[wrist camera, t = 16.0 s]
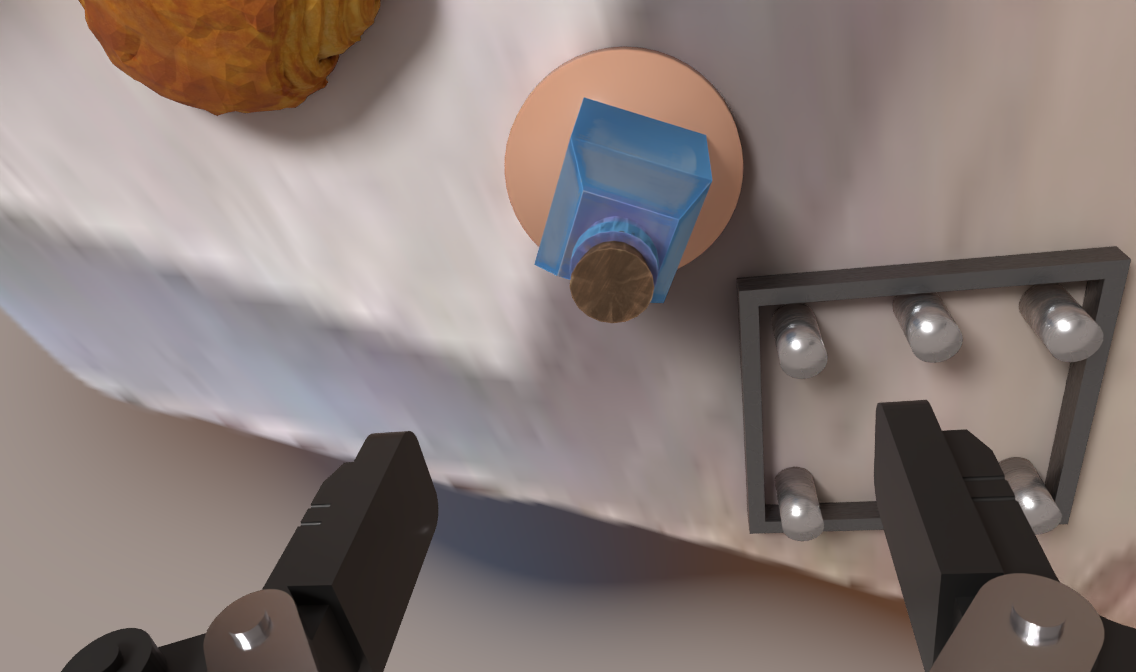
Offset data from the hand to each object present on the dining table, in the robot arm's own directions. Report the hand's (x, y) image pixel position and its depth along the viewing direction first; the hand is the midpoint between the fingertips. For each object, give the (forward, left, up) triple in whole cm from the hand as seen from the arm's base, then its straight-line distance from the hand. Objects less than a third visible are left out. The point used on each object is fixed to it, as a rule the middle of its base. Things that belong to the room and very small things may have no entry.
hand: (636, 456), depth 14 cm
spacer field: (-13, +21, -29) cm, 37 cm away
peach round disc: (+2, +5, -29) cm, 29 cm away
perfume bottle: (+2, +5, -28) cm, 28 cm away
